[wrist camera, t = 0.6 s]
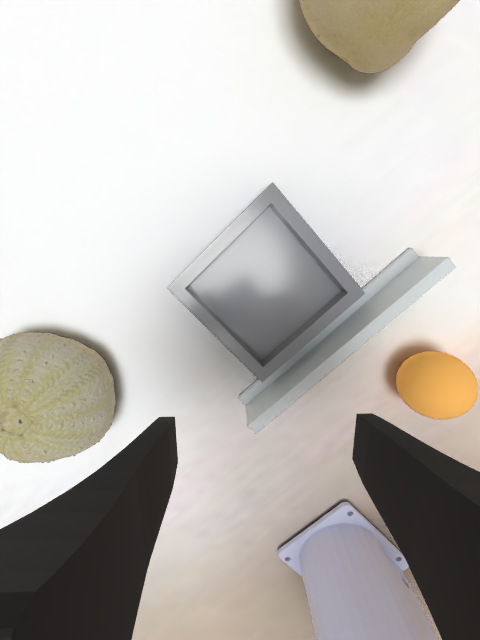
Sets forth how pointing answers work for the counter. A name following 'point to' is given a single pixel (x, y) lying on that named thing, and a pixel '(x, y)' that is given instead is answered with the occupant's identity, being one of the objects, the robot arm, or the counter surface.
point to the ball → (437, 385)
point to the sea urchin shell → (52, 397)
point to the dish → (266, 285)
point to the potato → (372, 28)
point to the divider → (344, 334)
